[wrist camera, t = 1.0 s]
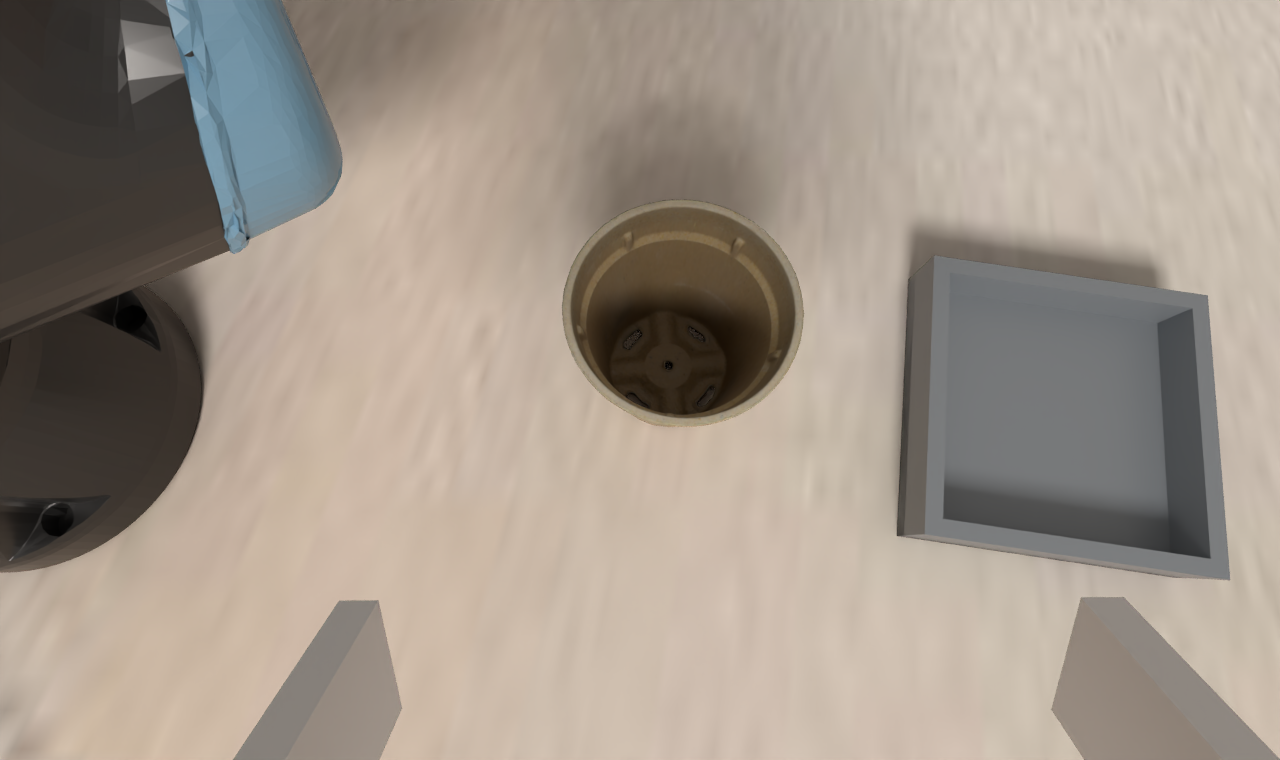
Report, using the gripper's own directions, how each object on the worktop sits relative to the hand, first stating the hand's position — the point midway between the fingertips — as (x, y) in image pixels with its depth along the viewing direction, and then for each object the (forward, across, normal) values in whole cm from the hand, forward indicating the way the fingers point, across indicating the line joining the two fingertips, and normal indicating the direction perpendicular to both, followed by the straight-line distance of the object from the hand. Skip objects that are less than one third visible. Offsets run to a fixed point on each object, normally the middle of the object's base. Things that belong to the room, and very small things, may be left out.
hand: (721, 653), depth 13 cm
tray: (+21, +18, -5) cm, 28 cm away
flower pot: (+22, -1, -2) cm, 22 cm away
